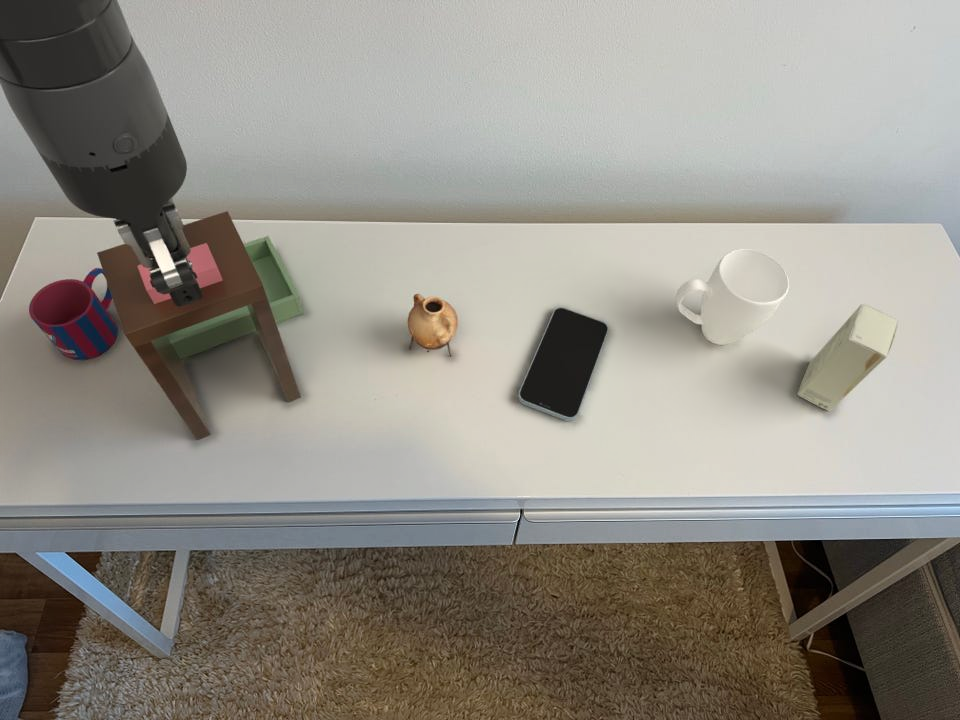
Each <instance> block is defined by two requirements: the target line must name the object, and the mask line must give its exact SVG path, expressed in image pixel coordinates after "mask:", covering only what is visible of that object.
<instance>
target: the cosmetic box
mask: <svg viewBox="0 0 960 720" xmlns="http://www.w3.org/2000/svg"><path fill="white" fill-rule="evenodd" d="M899 322H900V321H899V319H897V318H895V317H893V316H891V315H889V314H887V313H885V312H882V311H881V310H879V309H877V308H875V307H873V306H870V305H869V304H866V303H864V302H862V303H860V305H859V306H858V307H857V308H856V310H855V311H854V312H852V314H851V315H850V316H849V317H848V319H847V320H846V321H845V322H843V324H842V325H841V326H840V328H839V329H837V331H836V332H835V333H834V334H833V336H831V338H830V339H829V340H828V341H827V342H826V343H825V345H823V346H822V348H821V349H820V350H819V351H818V352H817V353H816V355H815V356H814V357H813V358H812V359H811V360H810V362H809V364H808V366H807V368H806V370H805V373H804V375H803V378H802V380H801V383H800V384H799V388H798V391H797V396H798V397H800V398H802V399H803V400H806V401H808V402H810V403H811V404H813V405H815V406H817V407H818V408H821V409H823V410H825V411H828V412H831V411H832V410H833V409H834V408H836V406H837V405H838V404H839V403H840V402H841V401H842V400H843V399H844V398H845V397H846V396H848V395H849V394H850V393H851V392H852V391H853V390H854V389H855V388H856V387H857V386H858V385H859V384H860V383H861V382H862V381H863V380H864V379H865V378H866V377H868V376H869V374H870V373H871V372H873V371H874V370H875V369H876V368H877V367H878V366H879V365H880V364H881V363H882V362H883V361H884V360H886V358H887V357H888V356H889V354H890V351H891V349H892V346H893V343H894V340H895V336H896V333H897V330H898V325H899Z"/></svg>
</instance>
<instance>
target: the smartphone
mask: <svg viewBox="0 0 960 720" xmlns="http://www.w3.org/2000/svg"><path fill="white" fill-rule="evenodd" d="M609 329H610V328H609V325H608V323H606V322H605V321H602V320H600V319H597V318H594V317H592V316H589V315H586V314H583V313H581V312H578V311H575V310H572V309H570V308H567V307H564V306H563V307H562V306H560V307H556V308H555V309H554V310H553V311H552V314H551V316H550V318H549V321H548V323H547V326H546V328H545V329H544V332H543V334H542V338H541V339H540V342H539V344H538V347H537V349H536V351H535V353H534V355H533V358H532V360H531V362H530V365H529V368H528V369H527V371H526V374H525V377H524V379H523V381H522V384H521V386H520V388H519V391H518V395H517V397H518V401H519V402H520V403H521V404H522V405H524V406H526V407H529V408H532V409H534V410H537V411H539V412H542V413H545V414H547V415H550V416H553V417H555V418H557V419H559V420H562V421H565V422H572V421H574V420H576V418H577V417H578V416H579V413H580V410H581V407H582V406H583V403H584V400H585V398H586V394H587V392H588V389H589V386H590V383H591V380H592V377H593V375H594V372H595V369H596V366H597V363H598V361H599V358H600V355H601V353H602V350H603V347H604V344H605V341H606V339H607V336H608V333H609Z"/></svg>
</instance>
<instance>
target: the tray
mask: <svg viewBox="0 0 960 720" xmlns="http://www.w3.org/2000/svg"><path fill="white" fill-rule="evenodd" d="M243 244H244V246H245V248H246V250H247V252H248V254H249V257H250V259H251V261H252V263H253V265H254V267H255V269H256V271H257V273H258V275H259V277H260V280H261V282H262V284H263V286H264V289H265V292H266V295H267V298H268V301H269V304H270V307H271V310H272V313H273V316H274V319H275V322H276V324H279V323H282V322H284V321H287V320H289V319H291V318H295V317H297V316H299V315H302V314H304V309H303V306H302V302H301V298H300V295H299V293H298V291H297V289H296V288H295V285H294V283H293V282H292V279H291V277H290V276H289V273H288V272H287V269H286V268H285V265H284V264H283V262H282V260H281V257H280V256H279V253H278V251H277V250H276V248H275V246H274V244H273V242H272V240H271V238H270V236H269V235H266V236H264V237H263V236H262V237H260V238H257V239H256V240H255V239H254V240H251V241H247V242H245V243H243ZM255 332H257V331H256V328H255V325H254V323H253V320H252V318H251V315H250V312H249V310H248V307H247V306H245V307H242V308H239V309H237V310H234V311H231V312H228V313H226V314H223V315H220V316H217V317H215V318H212V319H209V320H206V321H204V322H201V323H198V324H195V325H193V326H190V327H187V328H184V329H182V330H179V331H176V332H173V333H171V334H168V335H166V336H167V337H168V339H169V341H170V342H171V344H172V346H173V347H174V349H175V351H176V352H177V354H178V356H179V357H180V359H181V360H183V359H186V358H188V357H189V358H190V357H192V356H194V355H197V354H199V353H202V352H205V351H207V350H210V349H212V348H216V347H218V346H221V345H223V344H225V343H228V342H231V341H234V340H236V339H239V338H241V337H244V336H247V335H250V334H252V333H255Z"/></svg>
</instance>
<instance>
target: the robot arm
mask: <svg viewBox="0 0 960 720" xmlns="http://www.w3.org/2000/svg"><path fill="white" fill-rule="evenodd" d="M0 86H1V89H2V91H3V93H4V96H5V98H6V101H7V103H8V105H9V107H10V108H11V111H12V112H13V114H14V116H15V118H16V119H17V121H18V122H19V124H20V125H21V127H22V129H23V130H24V132H25V133H26V135H27V137H28V138H29V140H30V141H31V143H32V145H33V146H34V148H35V149H36V152H37V153H38V154H39V155H40V157H41V159H42V160H43V162H44V163H45V165H46V166H47V168H48V170H49V171H50V173H51V175H52V176H53V178H54V180H55V182H56V183H57V184H58V186H59V188H60V189H61V191H62V193H63V194H64V195H65V197H66V198H67V200H68V201H69V202H70V203H71V204H72V205H73V206H74V207H76V208H77V209H79V210H81V211H82V212H83V213H87V214H89V215H92V216H95V217H101V218H107V219H113V223H114V226H115V228H116V230H117V232H118V234H119V236H120V238H121V239H122V242H123V244H127V245H130V246H131V247H132V249H133V250H134V252H135V254H136V256H137V257H138V259H139V261H140V262H141V264H142V266H143V267H145V268H151V269H149V272H150V274H151V275H150V278H151V280H150V283H151V285H152V287H153V288H154V287H155V289H156V291H157V292H159V293H161V294H164V295H165V294H168V293H169V294H170V296H171V298H172V300H173V302H174V304H175V305H176V306H179V307H181V306H185V305H187V304H190V303H193V302H196V301H199V300H201V299H202V297H203V294H202V292H201V289H200V287H199V284H198V282H197V280H196V278H198V277H197V275H196V273H195V272H193V269H192V267H193V265H192V263H191V260H190V261H188V259H187V256H188V255H189V254H190V252H191V249H190V247H189V245H188V242H187V240H186V238H185V235H184V233H183V231H182V228H183V225H184V223H183V220H182V218H181V215H180V213H179V211H178V209H177V207H176V205H175V202H174V200H173V197H174V196H175V195H176V194H177V193H178V192H179V191H180V189H181V188H182V186H183V184H184V182H185V180H186V176H187V170H188V166H187V165H188V164H187V159H186V156H185V154H184V151H183V149H182V145H181V144H180V140H179V139H178V135H177V133H176V130H175V128H174V125H173V123H172V121H171V118H170V116H169V113H168V111H167V109H166V106H165V102H164V101H163V99H162V96H161V93H160V90H159V88H158V85H157V83H156V80H155V78H154V76H153V73H152V71H151V69H150V67H149V64H148V62H147V61H146V59H145V57H144V55H143V54H142V52H141V51H140V49H139V47H138V45H137V44H136V41H135V40H134V37H133V35H132V34H131V30H130V28H129V26H128V24H127V21H126V19H125V15H124V13H123V10H122V8H121V6H120V3H119V1H118V0H0Z"/></svg>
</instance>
